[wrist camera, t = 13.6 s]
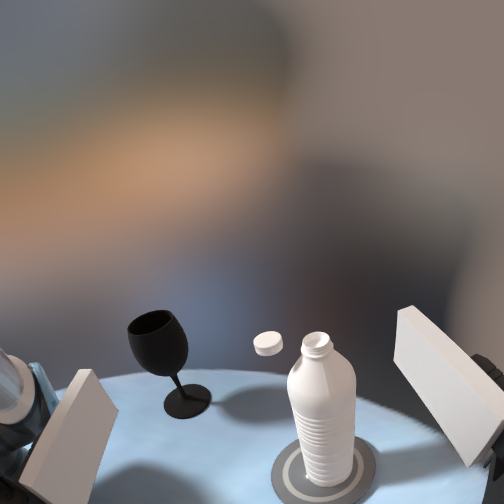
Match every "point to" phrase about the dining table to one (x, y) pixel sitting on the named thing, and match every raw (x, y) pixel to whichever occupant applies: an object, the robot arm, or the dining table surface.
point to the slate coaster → (311, 495)
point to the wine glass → (167, 360)
